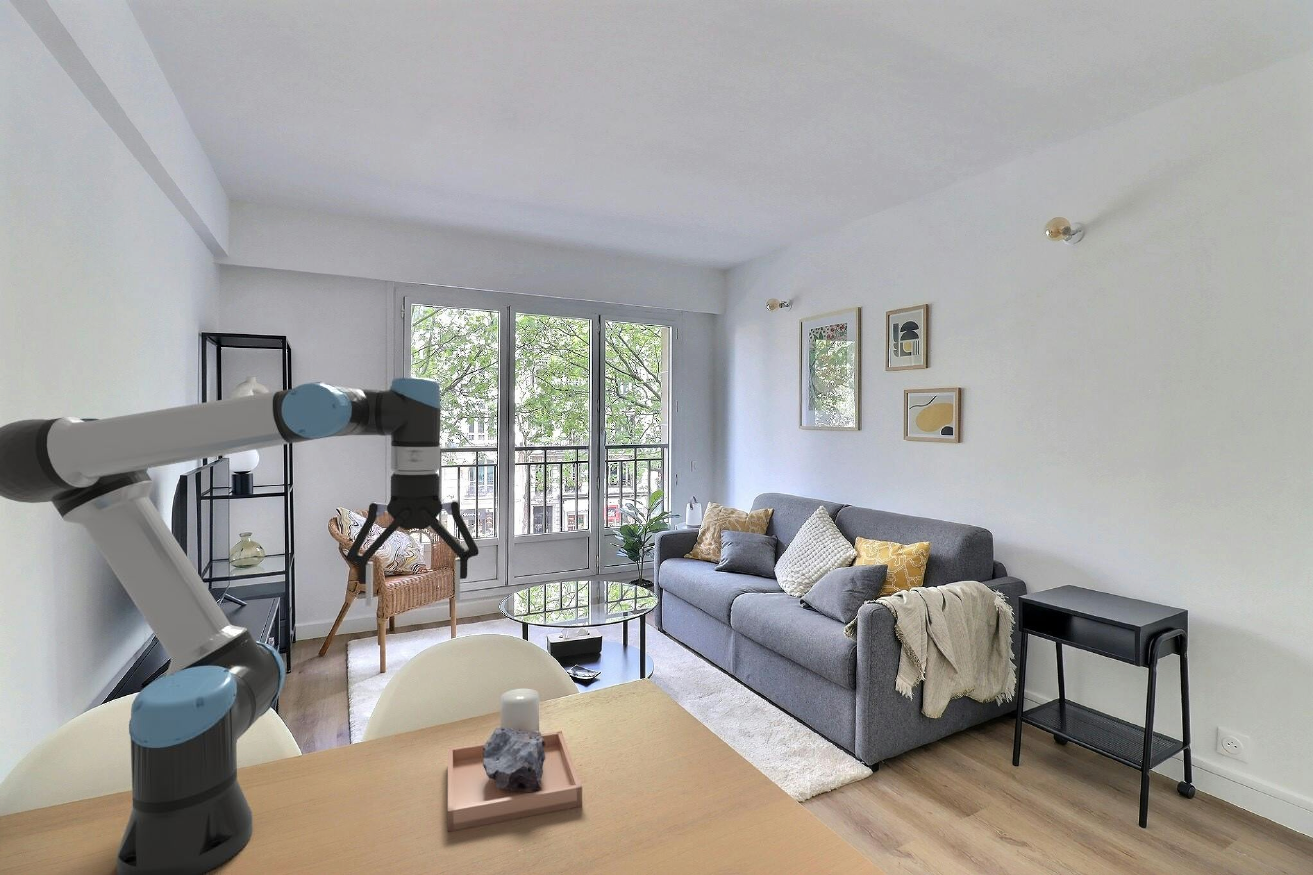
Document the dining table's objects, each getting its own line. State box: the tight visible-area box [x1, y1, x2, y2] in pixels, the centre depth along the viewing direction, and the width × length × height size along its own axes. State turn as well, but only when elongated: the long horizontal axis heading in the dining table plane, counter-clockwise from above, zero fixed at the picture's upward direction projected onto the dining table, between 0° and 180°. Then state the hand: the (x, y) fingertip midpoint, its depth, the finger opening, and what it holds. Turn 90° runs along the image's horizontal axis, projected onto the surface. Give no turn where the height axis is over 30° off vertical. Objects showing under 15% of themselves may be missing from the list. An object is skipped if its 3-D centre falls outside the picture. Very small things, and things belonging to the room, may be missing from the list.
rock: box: [483, 726, 546, 793], centre depth 104 cm, size 14×10×10 cm
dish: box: [447, 730, 583, 832], centre depth 104 cm, size 20×19×3 cm
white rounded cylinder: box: [499, 688, 540, 731], centre depth 119 cm, size 7×7×8 cm
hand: (414, 601), depth 106 cm, fingers open, 13 cm apart
